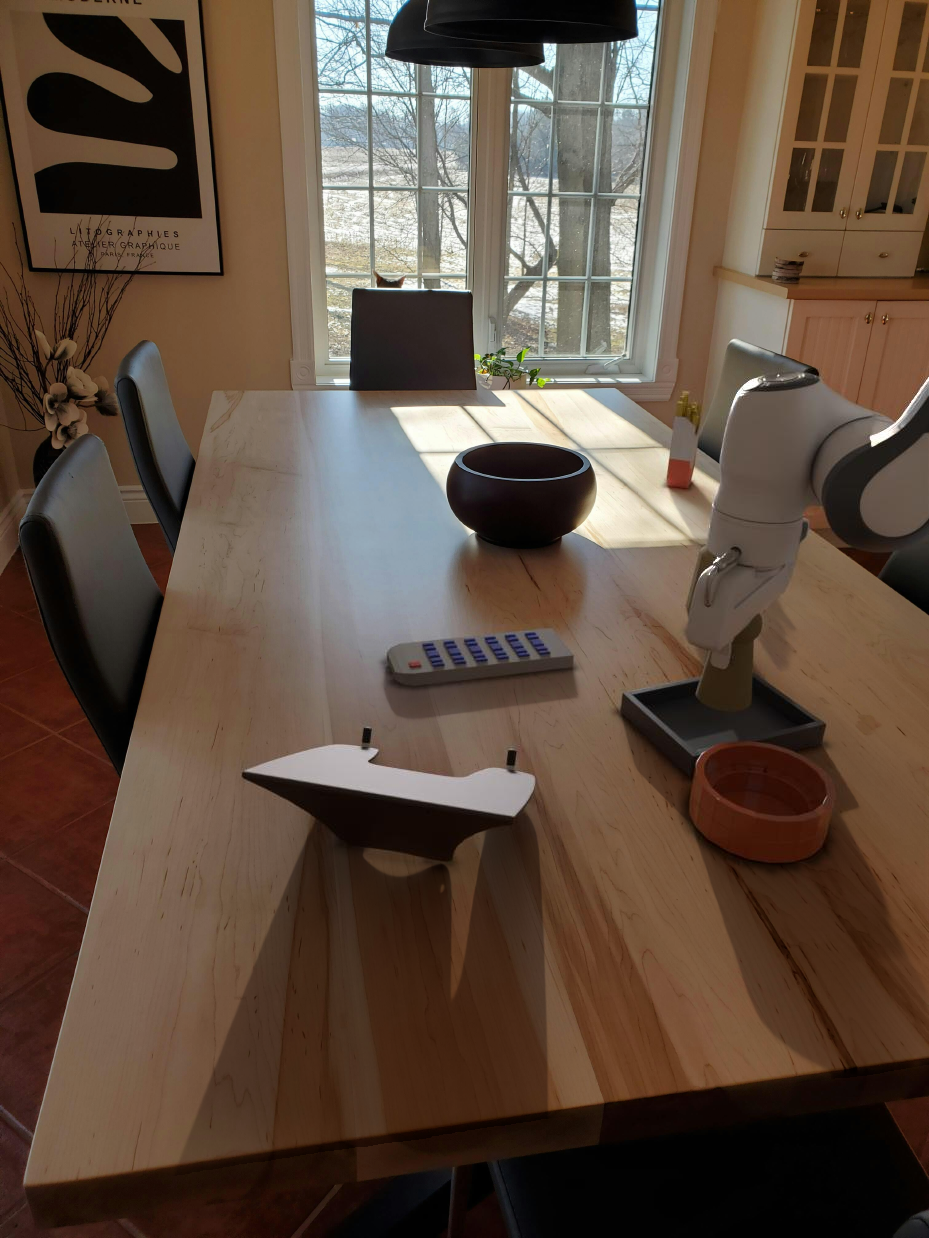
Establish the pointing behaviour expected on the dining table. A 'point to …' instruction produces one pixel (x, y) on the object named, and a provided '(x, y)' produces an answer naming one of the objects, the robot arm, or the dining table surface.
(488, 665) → the remote control
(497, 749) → the dining table surface
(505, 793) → the laptop tray
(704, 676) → the olive green bottle
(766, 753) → the bowl
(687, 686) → the tray
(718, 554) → the robot arm
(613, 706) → the dining table surface
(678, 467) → the french fries container
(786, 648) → the dining table surface
